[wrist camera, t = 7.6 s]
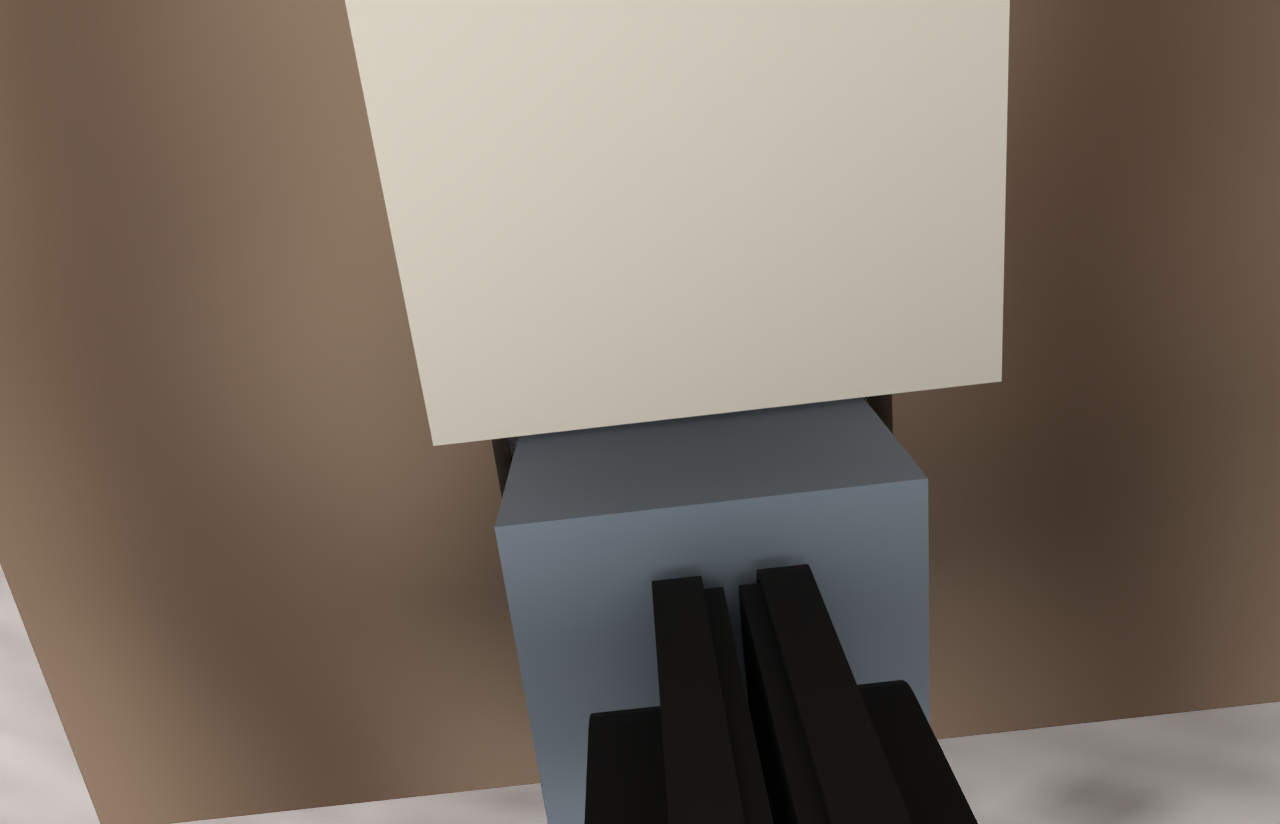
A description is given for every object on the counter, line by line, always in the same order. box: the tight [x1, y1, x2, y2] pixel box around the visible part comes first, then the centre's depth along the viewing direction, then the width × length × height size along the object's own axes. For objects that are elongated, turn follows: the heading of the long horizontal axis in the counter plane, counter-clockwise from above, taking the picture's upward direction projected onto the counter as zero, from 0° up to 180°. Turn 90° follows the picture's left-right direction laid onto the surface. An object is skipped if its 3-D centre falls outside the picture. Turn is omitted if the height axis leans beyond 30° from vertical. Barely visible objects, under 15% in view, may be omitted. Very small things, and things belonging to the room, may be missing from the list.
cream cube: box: [345, 0, 1010, 446], centre depth 8 cm, size 4×4×3 cm
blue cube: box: [494, 397, 930, 824], centre depth 12 cm, size 4×4×3 cm
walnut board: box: [0, 0, 1280, 824], centre depth 11 cm, size 18×18×1 cm
